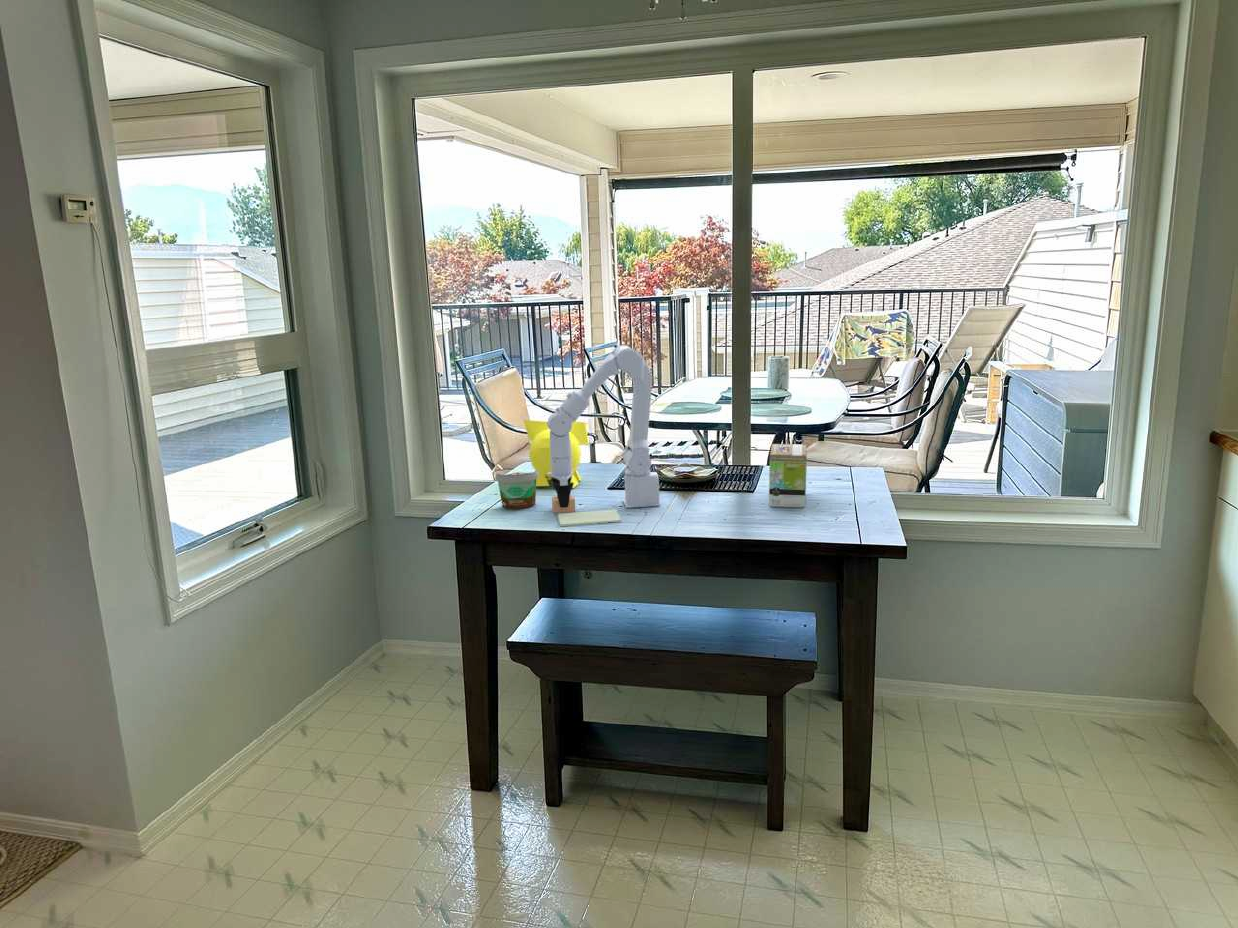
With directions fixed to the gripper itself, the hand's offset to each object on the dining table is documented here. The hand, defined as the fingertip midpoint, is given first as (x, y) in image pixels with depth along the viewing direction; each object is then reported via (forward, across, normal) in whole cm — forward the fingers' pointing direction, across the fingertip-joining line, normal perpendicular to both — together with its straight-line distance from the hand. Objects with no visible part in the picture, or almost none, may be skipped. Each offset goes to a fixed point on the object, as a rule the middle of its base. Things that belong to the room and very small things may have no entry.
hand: (563, 504), depth 242 cm
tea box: (+2, +6, +62) cm, 62 cm away
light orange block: (+2, 0, 0) cm, 2 cm away
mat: (+2, +10, +6) cm, 12 cm away
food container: (+2, -6, -12) cm, 14 cm away
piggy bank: (+2, -32, 0) cm, 32 cm away
